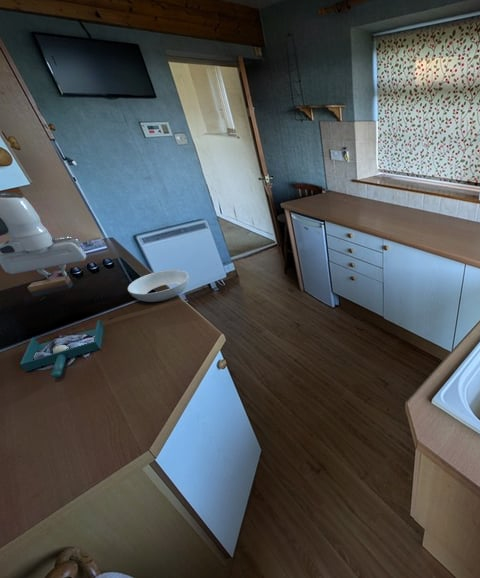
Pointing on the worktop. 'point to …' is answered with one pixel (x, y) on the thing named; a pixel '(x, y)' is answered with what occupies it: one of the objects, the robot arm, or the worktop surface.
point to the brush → (50, 285)
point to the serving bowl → (157, 279)
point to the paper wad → (60, 348)
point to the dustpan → (61, 356)
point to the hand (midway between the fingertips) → (57, 277)
